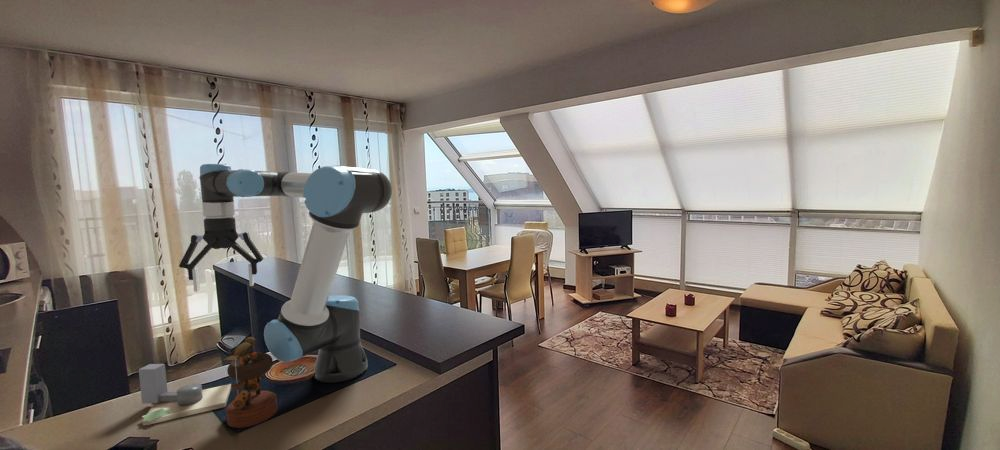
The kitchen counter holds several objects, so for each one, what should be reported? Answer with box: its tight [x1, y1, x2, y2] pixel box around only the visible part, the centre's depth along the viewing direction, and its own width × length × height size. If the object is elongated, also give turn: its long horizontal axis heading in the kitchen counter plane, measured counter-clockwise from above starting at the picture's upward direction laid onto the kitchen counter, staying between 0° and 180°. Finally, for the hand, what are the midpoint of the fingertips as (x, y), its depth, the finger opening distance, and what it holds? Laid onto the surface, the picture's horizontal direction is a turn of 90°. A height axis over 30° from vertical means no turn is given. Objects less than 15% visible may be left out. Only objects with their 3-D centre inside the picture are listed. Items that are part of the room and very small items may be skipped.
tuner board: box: [141, 383, 232, 427], centre depth 98 cm, size 17×12×1 cm
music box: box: [223, 336, 278, 429], centre depth 94 cm, size 15×11×20 cm
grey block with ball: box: [138, 363, 203, 406], centre depth 98 cm, size 14×5×9 cm, turn 91°
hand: (225, 287), depth 114 cm, fingers open, 13 cm apart
